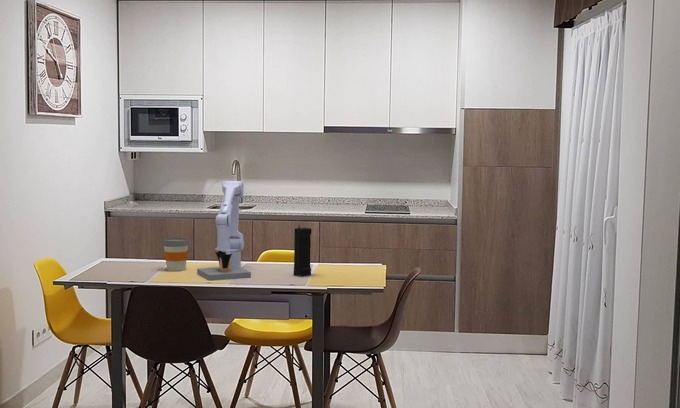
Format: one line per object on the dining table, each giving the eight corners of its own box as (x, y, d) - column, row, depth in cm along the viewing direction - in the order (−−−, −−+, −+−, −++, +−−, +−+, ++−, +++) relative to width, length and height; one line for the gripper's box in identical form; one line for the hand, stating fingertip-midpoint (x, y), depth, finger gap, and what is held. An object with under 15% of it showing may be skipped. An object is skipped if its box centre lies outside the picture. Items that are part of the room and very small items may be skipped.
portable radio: (305, 273, 388) (305, 222, 386) (313, 274, 384) (313, 223, 381) (292, 275, 383) (292, 223, 381) (300, 276, 378) (300, 224, 376)
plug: (219, 273, 381) (219, 257, 381) (227, 273, 383) (227, 256, 382) (222, 275, 378) (222, 258, 377) (230, 274, 380) (230, 258, 379)
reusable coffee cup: (192, 267, 402) (191, 238, 401) (184, 272, 389) (184, 241, 388) (167, 267, 403) (167, 237, 402) (159, 271, 391) (159, 241, 389)
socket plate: (197, 273, 385) (197, 268, 384) (236, 270, 394) (236, 265, 393) (209, 280, 367) (209, 275, 367) (250, 277, 376) (250, 272, 376)
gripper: (210, 237, 383) (210, 265, 385) (220, 241, 370) (220, 270, 372) (224, 236, 387) (225, 264, 388) (234, 240, 374) (234, 269, 375)
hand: (223, 267), depth 380 cm, fingers closed on plug, 4 cm apart
